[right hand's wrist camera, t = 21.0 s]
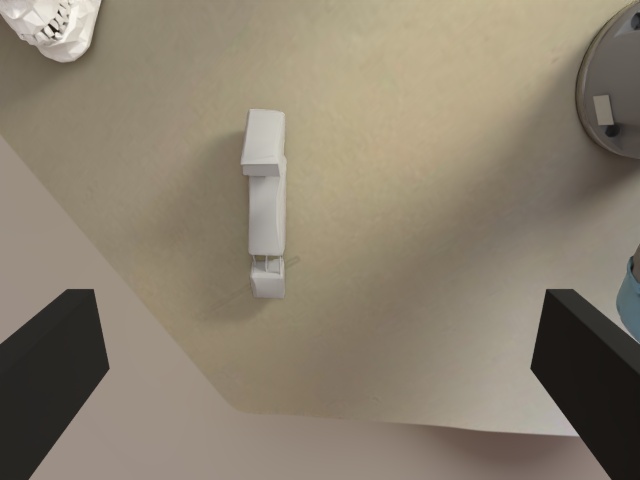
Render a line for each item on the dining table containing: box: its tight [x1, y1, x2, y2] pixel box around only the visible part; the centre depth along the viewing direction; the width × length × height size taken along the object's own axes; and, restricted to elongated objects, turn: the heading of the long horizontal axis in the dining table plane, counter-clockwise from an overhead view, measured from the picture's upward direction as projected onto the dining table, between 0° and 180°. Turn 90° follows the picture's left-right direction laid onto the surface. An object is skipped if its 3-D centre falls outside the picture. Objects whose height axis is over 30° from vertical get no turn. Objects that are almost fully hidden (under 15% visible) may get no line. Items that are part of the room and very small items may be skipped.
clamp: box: [240, 108, 287, 298], centre depth 44 cm, size 20×4×7 cm, turn 179°
